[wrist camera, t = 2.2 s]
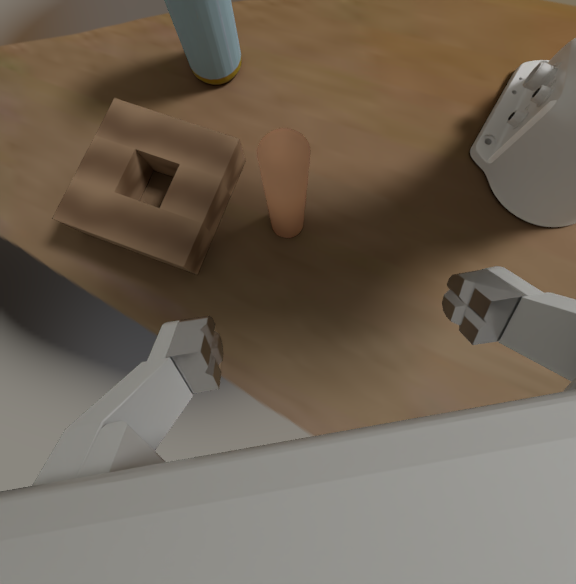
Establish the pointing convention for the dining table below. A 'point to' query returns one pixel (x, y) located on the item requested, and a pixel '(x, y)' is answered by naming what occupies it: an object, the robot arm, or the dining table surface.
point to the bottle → (207, 38)
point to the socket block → (136, 174)
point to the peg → (285, 178)
